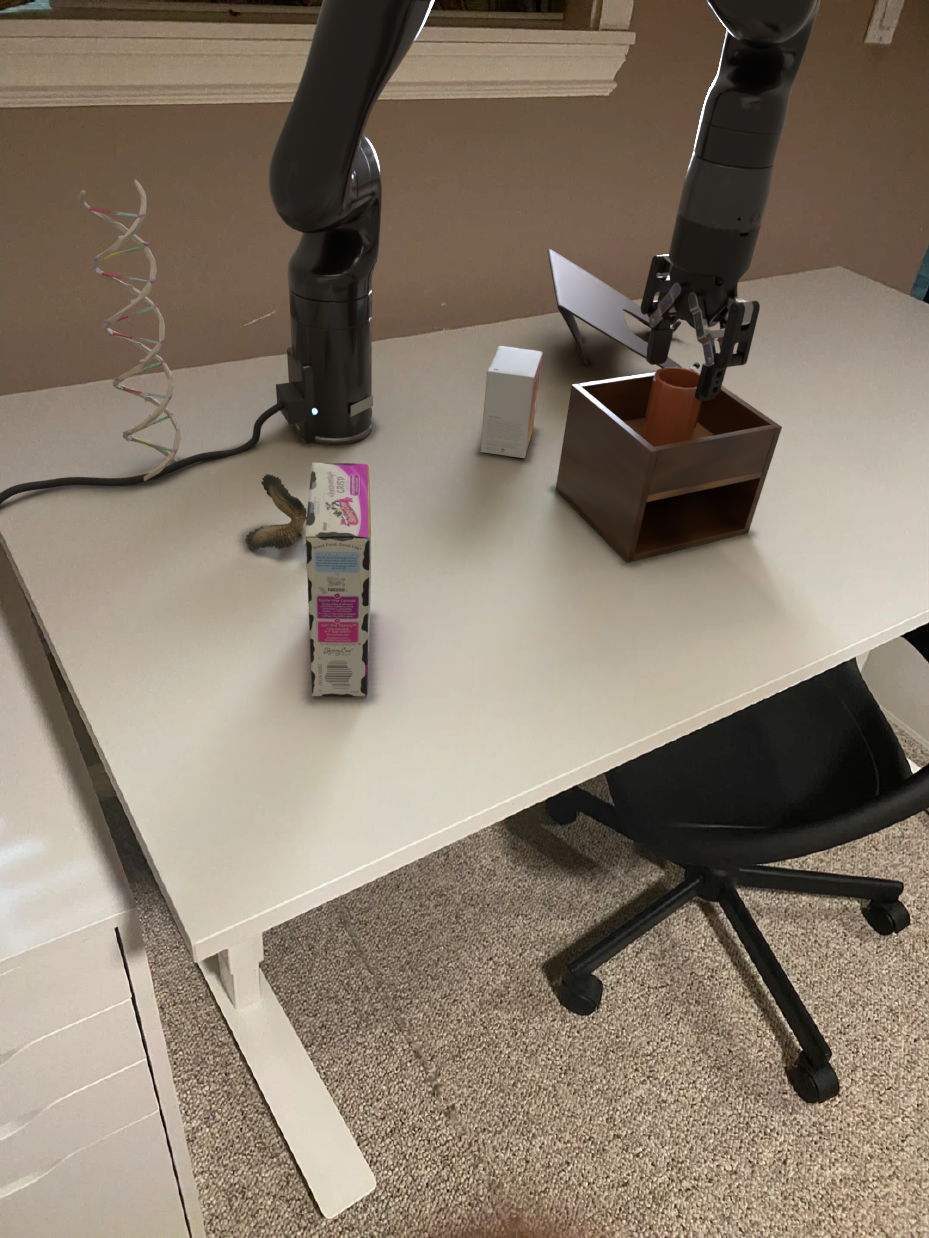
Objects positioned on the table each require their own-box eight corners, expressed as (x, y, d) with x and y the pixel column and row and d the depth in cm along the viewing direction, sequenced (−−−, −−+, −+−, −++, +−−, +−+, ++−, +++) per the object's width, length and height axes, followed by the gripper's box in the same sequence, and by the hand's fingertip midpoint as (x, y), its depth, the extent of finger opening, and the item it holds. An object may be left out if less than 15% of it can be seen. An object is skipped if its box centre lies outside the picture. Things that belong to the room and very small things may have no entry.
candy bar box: (371, 699, 77) (371, 538, 66) (310, 700, 76) (301, 537, 66) (370, 614, 85) (370, 460, 75) (316, 614, 85) (308, 459, 74)
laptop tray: (664, 428, 131) (706, 376, 126) (529, 349, 124) (568, 291, 119) (642, 360, 149) (677, 313, 144) (523, 288, 141) (556, 236, 136)
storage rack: (626, 562, 94) (651, 451, 86) (555, 490, 105) (571, 384, 96) (748, 533, 100) (782, 426, 92) (669, 467, 110) (693, 365, 102)
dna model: (161, 452, 105) (116, 171, 86) (200, 471, 103) (162, 185, 83) (114, 474, 101) (54, 183, 82) (153, 494, 98) (101, 199, 79)
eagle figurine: (347, 514, 96) (266, 486, 96) (345, 486, 89) (257, 456, 89) (321, 579, 94) (238, 551, 94) (317, 556, 87) (227, 525, 87)
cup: (658, 464, 95) (674, 392, 89) (630, 440, 98) (644, 370, 93) (698, 456, 96) (717, 385, 91) (669, 433, 100) (686, 364, 95)
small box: (524, 460, 109) (535, 378, 103) (479, 453, 110) (486, 371, 103) (534, 430, 115) (544, 350, 109) (490, 423, 116) (498, 343, 109)
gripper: (641, 192, 85) (611, 356, 96) (736, 241, 76) (691, 417, 86) (706, 188, 88) (669, 348, 99) (805, 235, 79) (753, 407, 89)
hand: (679, 380), depth 92 cm, fingers open, 8 cm apart
